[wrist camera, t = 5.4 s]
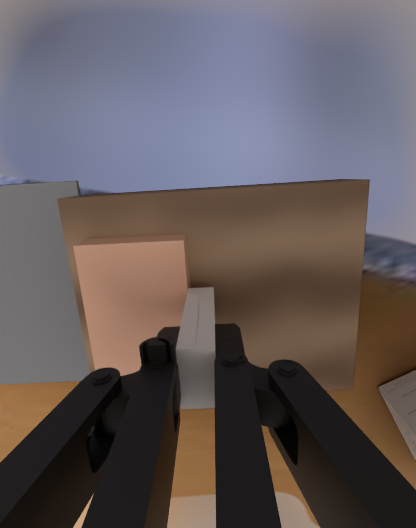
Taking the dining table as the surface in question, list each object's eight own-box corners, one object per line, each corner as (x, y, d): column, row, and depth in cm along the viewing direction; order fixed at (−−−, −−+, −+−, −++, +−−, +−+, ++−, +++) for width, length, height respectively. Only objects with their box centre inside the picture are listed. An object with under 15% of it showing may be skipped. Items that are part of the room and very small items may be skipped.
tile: (196, 365, 21) (194, 384, 19) (108, 368, 21) (98, 387, 19) (186, 233, 18) (183, 240, 16) (87, 238, 18) (73, 245, 17)
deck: (331, 357, 25) (352, 389, 21) (112, 366, 25) (95, 400, 22) (341, 179, 21) (369, 179, 17) (84, 195, 22) (57, 198, 18)
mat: (111, 377, 26) (109, 379, 25) (-17, 383, 26) (-20, 385, 26) (77, 180, 21) (76, 180, 21) (-75, 190, 22) (-79, 190, 21)
